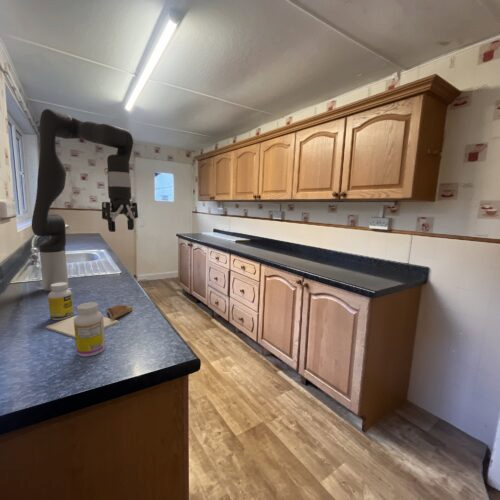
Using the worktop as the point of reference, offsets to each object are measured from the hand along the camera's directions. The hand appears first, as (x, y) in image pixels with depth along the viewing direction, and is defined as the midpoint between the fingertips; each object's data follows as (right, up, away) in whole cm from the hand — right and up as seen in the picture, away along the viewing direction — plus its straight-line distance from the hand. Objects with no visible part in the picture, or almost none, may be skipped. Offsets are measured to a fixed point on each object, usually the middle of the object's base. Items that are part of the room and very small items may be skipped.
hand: (121, 230), depth 100 cm
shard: (+2, -30, -4) cm, 30 cm away
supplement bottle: (+5, -34, -28) cm, 44 cm away
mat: (-6, -31, -13) cm, 35 cm away
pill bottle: (-17, -30, -7) cm, 36 cm away
